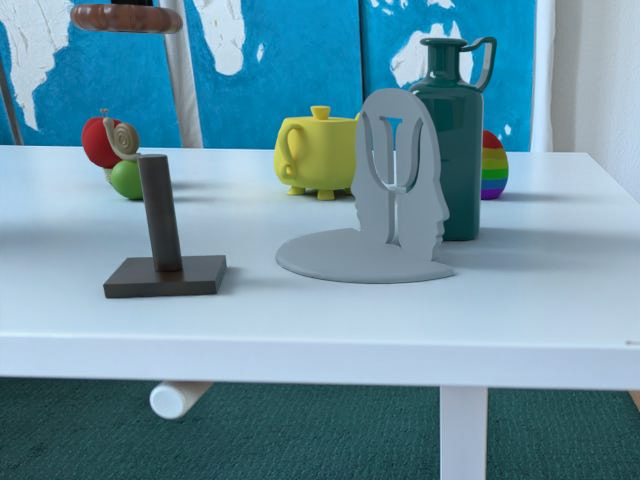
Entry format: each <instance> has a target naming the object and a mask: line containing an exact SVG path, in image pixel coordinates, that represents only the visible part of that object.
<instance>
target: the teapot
mask: <svg viewBox="0 0 640 480" xmlns="http://www.w3.org/2000/svg"><path fill="white" fill-rule="evenodd" d="M310 111H311V114H312V116H298V117H297V116H295V117H294V116H293V117H285V118H284V119H283V121H282V123H281V126H280V129H279V131H278V133H277V138H276V142H275V146H274V151H273V152H274V153H273V171H274V174H275V176H276V177H277V179H278V180H279V181H280V183H281V184H283V185H286V186H291V187H290V189H289V191H288V192H287V195H290V196H301V195H305V193H306V190H307V189H311V190H317V197H316V199H317V200H321V201H331V200H335V193H334V190H344V192H345V194H346V195H353V194H352V192H351V184H352V182H353V179H354V175H355V171H356V165H357V161H356V154H355V141H356V130H357V123H358V118H359V114H360V112H361V111H359V112H358V113H357V114H356V116H355V118H347V117H335V116H334V117H333V116H330V113H331V107H330V106H328V105H312V106H310Z"/></svg>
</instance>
